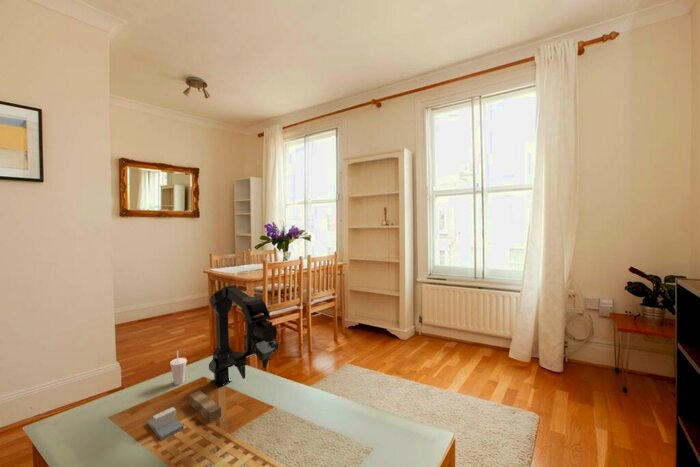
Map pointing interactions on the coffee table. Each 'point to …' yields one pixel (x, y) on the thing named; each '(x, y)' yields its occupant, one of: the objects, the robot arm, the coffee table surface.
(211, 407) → the walnut bar
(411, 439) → the coffee table surface
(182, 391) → the coffee table surface
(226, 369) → the robot arm
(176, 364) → the smoothie
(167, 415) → the stand
